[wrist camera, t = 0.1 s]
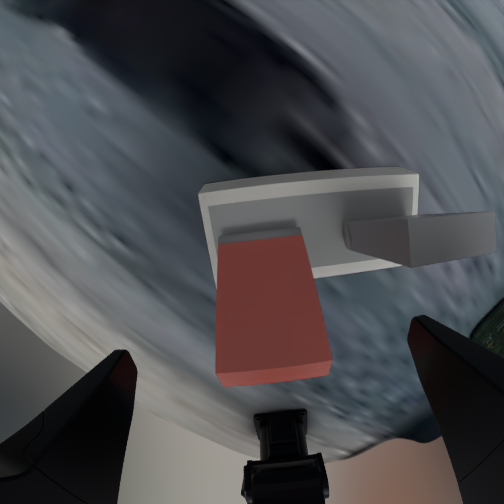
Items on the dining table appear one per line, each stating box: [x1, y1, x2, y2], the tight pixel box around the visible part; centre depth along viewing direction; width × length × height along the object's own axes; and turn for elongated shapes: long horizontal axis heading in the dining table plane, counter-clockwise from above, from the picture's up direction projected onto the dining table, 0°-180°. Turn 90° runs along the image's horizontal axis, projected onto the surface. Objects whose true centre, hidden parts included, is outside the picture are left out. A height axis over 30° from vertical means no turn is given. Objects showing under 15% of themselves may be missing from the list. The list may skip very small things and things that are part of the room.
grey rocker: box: [343, 211, 496, 268], centre depth 14 cm, size 2×5×9 cm, turn 96°
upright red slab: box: [216, 227, 333, 387], centre depth 16 cm, size 2×5×9 cm, turn 97°
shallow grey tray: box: [198, 167, 419, 289], centre depth 21 cm, size 7×15×3 cm, turn 97°
